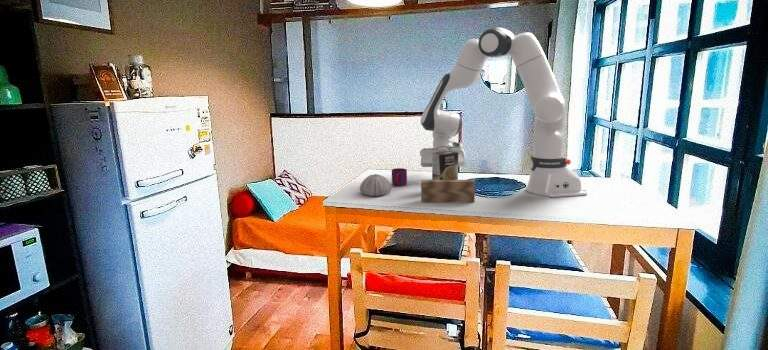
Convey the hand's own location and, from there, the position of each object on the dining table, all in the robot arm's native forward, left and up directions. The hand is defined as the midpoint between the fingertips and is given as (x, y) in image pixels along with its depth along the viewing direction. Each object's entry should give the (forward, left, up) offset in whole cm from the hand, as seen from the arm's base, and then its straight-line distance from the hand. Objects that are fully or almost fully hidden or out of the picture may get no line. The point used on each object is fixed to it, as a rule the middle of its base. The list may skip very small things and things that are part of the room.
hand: (443, 173), depth 175 cm
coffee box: (0, +9, -5) cm, 10 cm away
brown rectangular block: (0, +24, -5) cm, 25 cm away
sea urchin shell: (+29, +13, -5) cm, 32 cm away
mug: (+20, +1, -5) cm, 21 cm away
